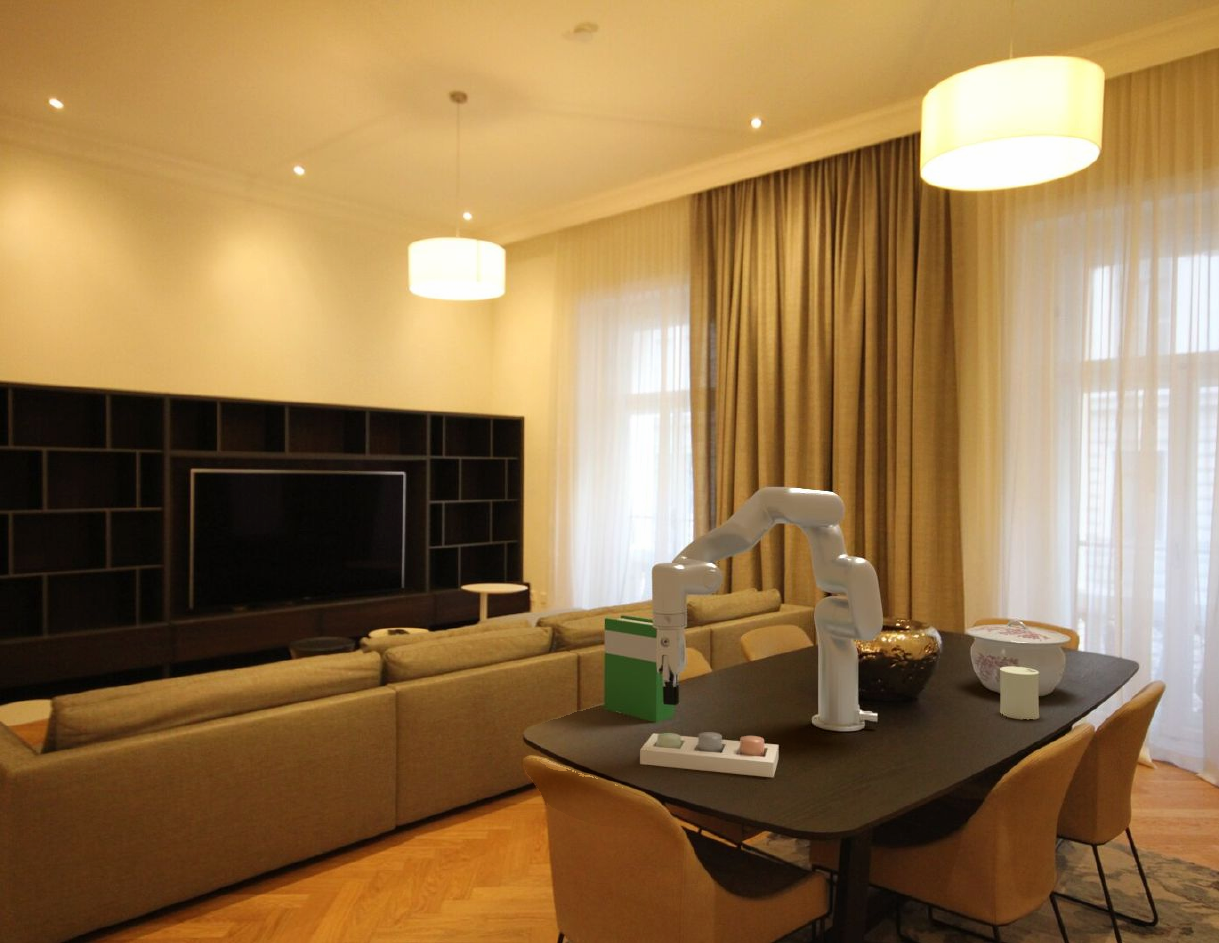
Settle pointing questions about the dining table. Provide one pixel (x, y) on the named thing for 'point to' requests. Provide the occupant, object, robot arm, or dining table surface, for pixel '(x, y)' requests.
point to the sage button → (669, 740)
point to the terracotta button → (752, 746)
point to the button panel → (710, 757)
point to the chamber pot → (1017, 653)
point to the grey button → (710, 742)
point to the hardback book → (633, 670)
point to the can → (1019, 692)
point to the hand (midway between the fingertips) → (671, 703)
